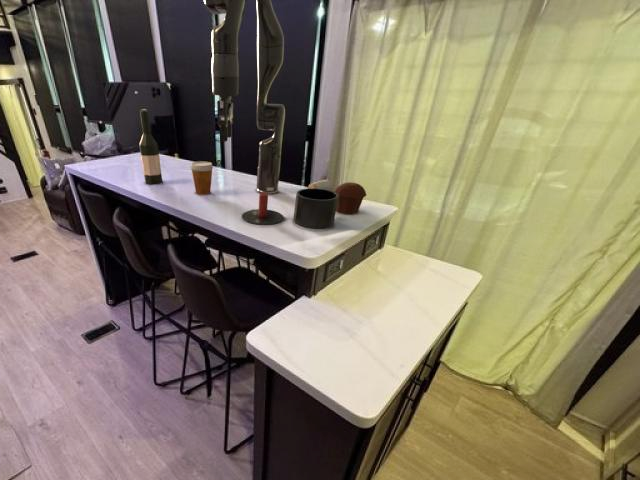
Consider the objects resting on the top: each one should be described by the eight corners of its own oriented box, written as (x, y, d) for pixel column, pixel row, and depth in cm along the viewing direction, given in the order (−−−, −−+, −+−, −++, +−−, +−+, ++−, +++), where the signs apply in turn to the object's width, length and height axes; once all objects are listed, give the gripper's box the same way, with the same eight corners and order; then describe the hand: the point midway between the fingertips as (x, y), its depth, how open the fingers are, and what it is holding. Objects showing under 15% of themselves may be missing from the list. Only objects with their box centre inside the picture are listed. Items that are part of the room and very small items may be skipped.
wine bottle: (160, 184, 146) (150, 110, 128) (142, 184, 146) (130, 110, 128) (164, 180, 152) (155, 109, 135) (147, 180, 152) (136, 108, 135)
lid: (234, 215, 113) (235, 191, 108) (268, 210, 118) (270, 186, 114) (254, 229, 102) (255, 203, 97) (291, 222, 108) (293, 197, 103)
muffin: (328, 212, 117) (333, 185, 111) (332, 204, 125) (337, 178, 119) (361, 217, 113) (368, 189, 107) (363, 208, 122) (369, 181, 116)
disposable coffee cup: (211, 189, 141) (209, 160, 134) (216, 195, 133) (215, 165, 127) (190, 190, 138) (188, 161, 131) (194, 196, 131) (192, 166, 124)
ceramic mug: (304, 198, 131) (307, 179, 126) (320, 196, 134) (323, 177, 129) (320, 206, 123) (323, 186, 119) (336, 203, 126) (340, 184, 122)
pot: (285, 219, 110) (288, 191, 104) (316, 214, 115) (320, 186, 110) (309, 233, 100) (314, 202, 95) (341, 226, 105) (347, 197, 100)
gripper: (216, 75, 94) (218, 135, 103) (206, 74, 82) (209, 142, 91) (241, 76, 93) (240, 136, 102) (235, 74, 81) (234, 143, 90)
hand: (225, 139), depth 97 cm, fingers open, 8 cm apart
